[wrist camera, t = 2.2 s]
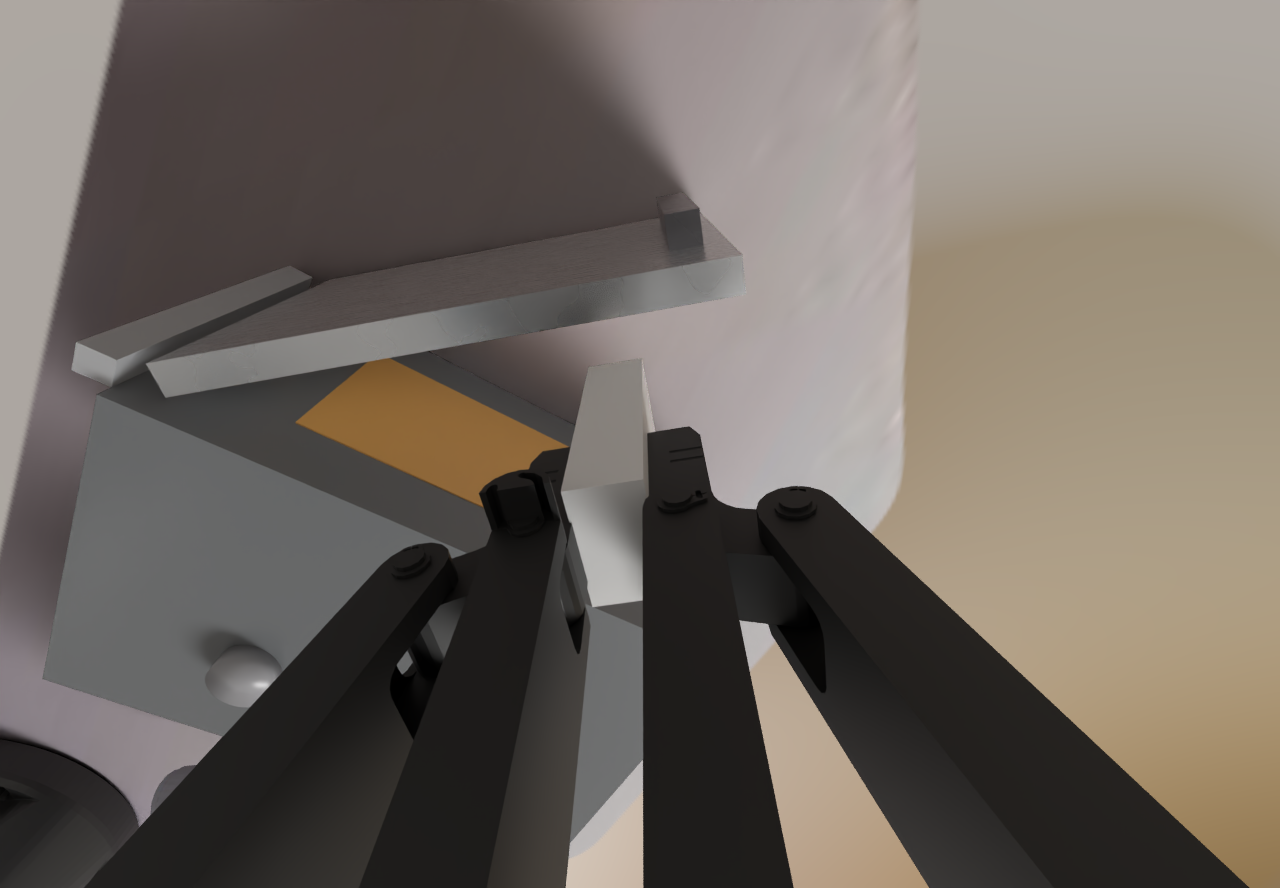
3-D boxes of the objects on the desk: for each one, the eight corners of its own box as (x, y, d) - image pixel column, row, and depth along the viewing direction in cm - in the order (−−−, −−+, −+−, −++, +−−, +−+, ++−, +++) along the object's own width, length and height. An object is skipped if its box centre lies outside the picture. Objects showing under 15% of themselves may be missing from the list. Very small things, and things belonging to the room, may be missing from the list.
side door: (701, 235, 25) (745, 294, 15) (339, 302, 26) (165, 397, 16) (695, 184, 24) (738, 212, 15) (320, 256, 25) (125, 327, 16)
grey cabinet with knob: (625, 652, 37) (622, 884, 25) (225, 486, 31) (-13, 687, 20) (746, 494, 32) (811, 694, 20) (295, 263, 26) (32, 357, 15)
